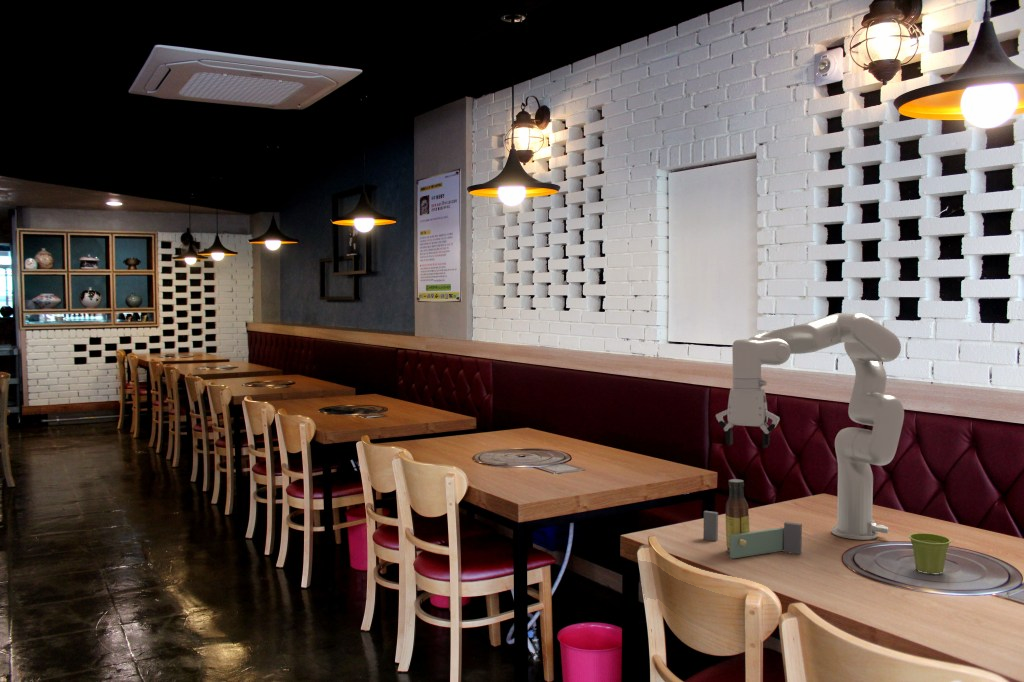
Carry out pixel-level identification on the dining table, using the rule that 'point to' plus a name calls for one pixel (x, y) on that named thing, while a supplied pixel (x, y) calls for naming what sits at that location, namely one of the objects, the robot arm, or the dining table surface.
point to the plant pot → (929, 551)
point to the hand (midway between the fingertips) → (747, 446)
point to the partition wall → (790, 532)
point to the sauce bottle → (736, 511)
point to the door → (756, 542)
